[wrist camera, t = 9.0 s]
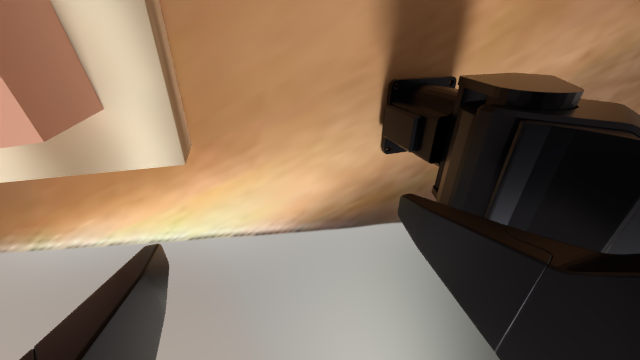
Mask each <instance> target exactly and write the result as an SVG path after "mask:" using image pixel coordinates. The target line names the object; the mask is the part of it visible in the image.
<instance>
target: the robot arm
mask: <svg viewBox="0 0 640 360" xmlns="http://www.w3.org/2000/svg"><path fill="white" fill-rule="evenodd" d="M450 81H451V82H450ZM449 82H450V84H449ZM396 83H397V87H396V88H394V86H395V84H396ZM455 85H456V78H455V77H452V76H444V77H426V78H408V79H394V80H392V81H391V82H390V84H389V90H388V99H387V106H386V108H385V116H384V125H383V133H382V134H383V141H382V151H383V152H384V153H385V154H392V153H399V152H406V151H408V152H412V153H414V154H415V155H417V156H419V157H420V158H422V159H424V160H425V161H427V162H429V163H431V164H432V163H433V164H435V165H437V166H439V170H438V174H437V178H436V182H435V185H434V186H433V188H432V194H433V195H434V197H435V198H436V200H437V202H435V201H432V200H429V199H426V198H423V197H420V196H417V195H414V194H405V195H402V196H401V197H400V201H399V206H398V216H399V218H400V220H401V221H402V223H403V225H404V226H405V228H406V230H407V231H408V233H409V235H410V236H411V238H412V240H413V241H414V243H415V245H416V246H417V248H418V249H419V250H420V252H421V253H422V255H423V256H424V257H425V259H426V260H427V261H428V263H429V264H430V265H431V267H432V268H433V269H434V271H435V272H436V273H437V275H438V276H439V277H440V279H441V280H442V282H443V283H444V284H445V286H446V287H447V288H448V290H449V291H450V292H451V294H452V295H453V296H454V298H455V299H456V301H457V302H458V303H459V305H460V306H461V307H462V309H463V310H464V311H465V313H466V314H467V315H468V317H469V318H470V319H471V321H472V322H473V323H474V325H475V326H476V328H477V329H478V330H479V332H480V333H481V334H482V335H483V337H484V338H485V340H486V341H487V342H488V344H489V345H490V346H491V348H492V349H493V351H494V352H495V353H496V355H497V356H498V358H499V359H500V360H640V115H639V114H637V113H636V112H634V111H633V110H631V109H630V108H628V107H627V106H625V105H623V104H618V103H611V102H603V101H594V100H586V99H580V98H581V96H582V94H583V92H584V89H582V88H580V87H578V86H575V85H573V84H571V83H569V82H566V81H564V80H562V79H560V78H557V77H555V76H551V75H538V74H524V73H500V74H482V75H464V76H460V78H459V82H458V85H459V89H455ZM387 147H389V148H388V149H387ZM386 149H387V150H386ZM168 276H169V263H168V260H167V257H166V255H165V253H164V250H163V248H162V246H161V245H160V244H153V245H148V246H145V247H144V248H143V249H141V250H140V251H139V252H138V253H137V254H136V255H135V256H134V257H133V258H132V259H130V260H129V261H128V262H127V263H126V264H125V265H124V266H123V267H122V268H121V269H119V270H118V271H117V272H116V273H115V274H114V275H113V276H112V277H111V278H109V280H107V281H106V282H105V283H104V284H103V285H102V286H101V287H100V288H98V289H97V290H96V291H95V292H94V293H93V294H92V295H91V296H90V297H88V298H87V299H86V300H85V301H84V302H83V303H82V304H81V305H80V306H78V307H77V308H76V309H75V310H74V311H73V312H72V313H71V314H70V315H69V316H67V318H65V319H64V320H63V321H62V322H61V323H60V324H59V325H58V326H56V327H55V328H54V329H53V330H52V331H51V332H50V333H49V334H48V335H46V336H45V337H44V338H43V339H42V340H41V341H40V342H39V343H38V344H36V345H35V347H34V349H31V350H30V351H29V352H28V353H26V354H25V355H24V356H23V357H22V358H21V359H20V360H156V356H157V351H158V346H159V341H160V337H161V332H162V327H163V322H164V317H165V311H166V300H167V288H168Z"/></svg>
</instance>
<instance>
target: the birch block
mask: <svg viewBox="0 0 640 360" xmlns="http://www.w3.org/2000/svg"><path fill="white" fill-rule="evenodd" d="M50 2H51V4H52V6H53V8H54V10H55V12H56V14H57V16H58V18H59V20H60V22H61V24H62V26H63V28H64V30H65V32H66V34H67V36H68V38H69V40H70V42H71V44H72V46H73V48H74V50H75V52H76V54H77V56H78V58H79V60H80V62H81V64H82V66H83V68H84V70H85V72H86V74H87V76H88V78H89V80H90V82H91V84H92V86H93V88H94V90H95V92H96V94H97V96H98V98H99V100H100V102H101V104H102V106H103V108H104V109H103V110H102V111H100V112H98V113H96V114H94V115H92V116H91V117H89V118H87V119H85V120H83V121H82V122H80V123H78V124H76V125H74V126H72V127H71V128H69V129H67V130H65V131H63V132H62V133H60V134H58V135H56V136H54V137H52V138H51V139H49V140H47V141H45V142H41V143H35V144H28V145H21V146H14V147H7V148H0V183H1V182H12V181H22V180H32V179H43V178H53V177H63V176H73V175H84V174H94V173H104V172H115V171H125V170H135V169H145V168H156V167H166V166H176V165H185V164H186V161H187V158H188V155H189V151H190V148H191V145H192V144H191V140H190V135H189V131H188V127H187V122H186V118H185V113H184V109H183V104H182V100H181V96H180V91H179V87H178V82H177V78H176V73H175V69H174V64H173V60H172V56H171V51H170V47H169V42H168V38H167V33H166V29H165V25H164V20H163V16H162V11H161V7H160V2H159V0H50Z"/></svg>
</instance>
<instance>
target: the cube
mask: <svg viewBox="0 0 640 360" xmlns="http://www.w3.org/2000/svg"><path fill="white" fill-rule="evenodd" d="M103 109H104V108H103V106H102V104H101V102H100V100H99V98H98V96H97V94H96V92H95V90H94V88H93V86H92V84H91V82H90V80H89V78H88V76H87V74H86V72H85V70H84V68H83V66H82V64H81V62H80V60H79V58H78V56H77V54H76V52H75V50H74V48H73V46H72V44H71V42H70V40H69V38H68V36H67V34H66V32H65V30H64V28H63V26H62V24H61V22H60V20H59V18H58V16H57V14H56V12H55V10H54V8H53V6H52V4H51V2H50V0H0V148H7V147H14V146H21V145H28V144H35V143H41V142H45V141H47V140H49V139H51V138H52V137H54V136H56V135H58V134H60V133H62V132H63V131H65V130H67V129H69V128H71V127H72V126H74V125H76V124H78V123H80V122H82V121H83V120H85V119H87V118H89V117H91V116H92V115H94V114H96V113H98V112H100V111H102V110H103Z"/></svg>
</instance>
